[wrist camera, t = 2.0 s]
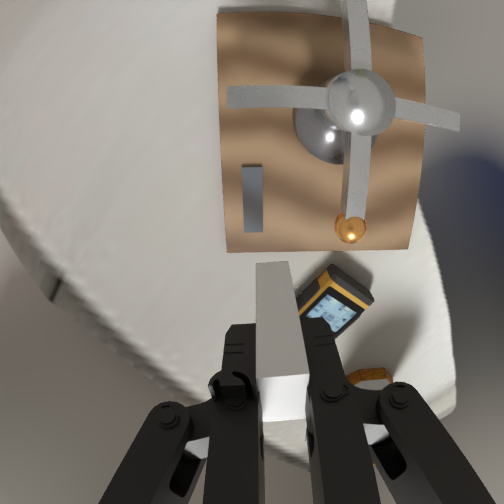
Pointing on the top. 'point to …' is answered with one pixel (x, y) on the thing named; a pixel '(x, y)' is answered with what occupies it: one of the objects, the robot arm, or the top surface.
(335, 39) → the wooden board
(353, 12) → the capstan
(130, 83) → the top surface
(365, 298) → the electronic device
